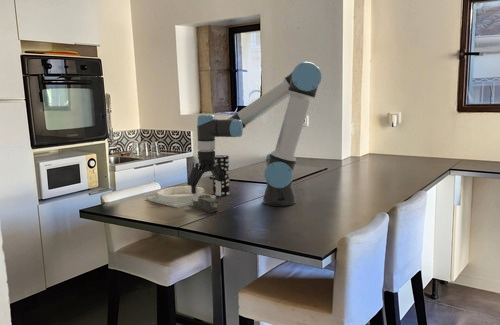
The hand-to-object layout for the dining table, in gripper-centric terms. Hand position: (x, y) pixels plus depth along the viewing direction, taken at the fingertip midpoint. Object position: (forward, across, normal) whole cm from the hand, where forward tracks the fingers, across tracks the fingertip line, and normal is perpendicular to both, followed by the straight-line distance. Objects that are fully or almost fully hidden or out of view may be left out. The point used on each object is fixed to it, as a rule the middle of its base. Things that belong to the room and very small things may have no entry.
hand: (207, 198), depth 203 cm
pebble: (+5, -1, -9) cm, 10 cm away
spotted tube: (+6, -23, -16) cm, 29 cm away
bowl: (+5, -4, -24) cm, 25 cm away
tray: (+6, -4, -24) cm, 25 cm away
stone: (+6, 0, 0) cm, 6 cm away
